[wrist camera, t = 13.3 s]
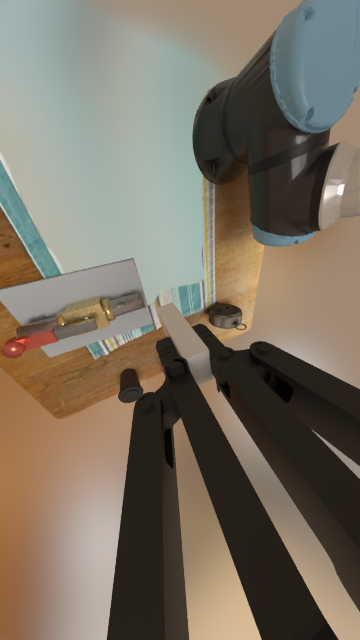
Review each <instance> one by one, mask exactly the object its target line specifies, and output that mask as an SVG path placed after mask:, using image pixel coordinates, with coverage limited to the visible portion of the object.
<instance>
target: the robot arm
mask: <svg viewBox="0 0 360 640" xmlns="http://www.w3.org/2000/svg"><path fill="white" fill-rule="evenodd" d="M359 85H360V0H303V1H302V2H301V3H300V4H299V5H298V6H297V7H296V8H295V9H293V10H292V11H290V12H289V14H288V15H286V16H285V17H284V19H283V20H282V22H281V23H280V24H279V26H278V28H277V29H276V31H275V32H274V33H273V34H272V35H271V36H270V38H269V39H268V40H267V41H266V43H265V44H264V45H263V46H262V47H261V48H260V50H259V51H258V52H257V53H256V54H255V56H254V57H253V58H252V59H251V60H250V61H249V63H248V64H247V65H246V66H245V68H244V69H243V70H242V71H241V72H240V74H239V75H238V76H237V77H234V78H231V79H228V80H225V81H223V82H220V83H218V84H217V85H216V86H214V87H213V88H212V89H211V90H210V91H209V93H208V94H207V95H206V97H205V98H204V99H203V101H202V102H201V104H200V106H199V108H198V110H197V113H196V116H195V120H194V126H193V150H194V155H195V159H196V162H197V164H198V167H199V169H200V171H201V172H202V174H203V175H204V176H205V177H206V178H207V179H208V180H209V181H211V182H212V183H215V184H225V183H228V182H230V181H232V180H234V179H236V178H237V177H238V176H239V175H241V173H242V172H243V171H244V170H245V169H246V168H247V167H248V183H249V197H250V212H251V218H250V222H251V225H252V231H253V237H254V239H255V240H257V242H259V243H261V244H263V245H267V246H290V245H292V244H293V243H294V244H299V243H302V242H304V241H306V240H308V239H310V238H311V237H312V236H313V235H314V234H315V232H316V231H322V230H326V229H327V228H328V227H329V226H331V225H332V224H333V223H334V222H336V221H337V220H339V219H341V218H348V217H355V216H360V148H355V147H353V146H352V145H351V144H349V143H348V142H347V141H343V142H340V143H337V144H335V145H332V146H329V147H328V142H329V135H330V129H331V127H332V126H333V125H334V124H335V123H336V122H337V121H338V120H339V119H340V118H341V117H342V116H343V115H344V113H345V112H346V111H347V109H348V108H349V106H350V105H351V103H352V101H353V94H354V93H355V92H356V91H357V89H358V87H359ZM156 309H157V312H158V315H159V318H160V321H161V324H162V327H163V330H164V333H165V335H166V337H167V338H164V339H162V340H159V341H157V344H156V349H157V351H158V354H159V357H160V360H161V363H162V365H163V368H164V373H165V375H166V379H165V382H164V384H163V385H162V386H161V387H160V388H159V389H158V390H157V391H156V392H155V393H154V392H147V393H145V394H143V395H142V396H140V397H139V398H138V400H137V401H136V403H135V407H134V413H133V421H132V430H131V438H130V447H129V455H128V464H127V472H126V480H125V489H124V498H123V506H122V515H121V523H120V532H119V540H118V549H117V557H116V566H115V575H114V583H113V591H112V600H111V608H110V617H109V626H108V635H107V640H189V632H188V619H187V608H186V607H187V606H186V593H185V580H184V567H183V554H182V542H181V541H182V540H181V528H180V514H179V502H178V489H177V475H176V462H175V449H174V436H173V425H174V424H175V423H176V422H177V421H178V420H179V419H180V418H182V421H183V424H184V427H185V430H186V432H187V435H188V437H189V441H190V443H191V446H192V449H193V452H194V454H195V457H196V460H197V463H198V465H199V468H200V471H201V473H202V476H203V479H204V482H205V485H206V487H207V490H208V493H209V496H210V498H211V501H212V504H213V507H214V509H215V512H216V515H217V518H218V520H219V523H220V526H221V528H222V531H223V534H224V537H225V540H226V543H227V545H228V548H229V551H230V553H231V556H232V559H233V562H234V565H235V567H236V570H237V573H238V576H239V578H240V581H241V584H242V587H243V589H244V592H245V595H246V597H247V600H248V603H249V606H250V608H251V611H252V614H253V617H254V619H255V622H256V625H257V628H258V630H259V633H260V636H261V639H262V640H338V638H337V637H336V635H335V634H334V632H333V630H332V629H331V627H330V626H329V624H328V623H327V621H326V619H325V618H324V616H323V614H322V613H321V611H320V609H319V607H318V606H317V604H316V602H315V600H314V598H313V597H312V595H311V593H310V591H309V589H308V588H307V586H306V584H305V582H304V580H303V578H302V576H301V574H300V573H299V571H298V569H297V567H296V565H295V563H294V562H293V560H292V558H291V556H290V554H289V552H288V551H287V549H286V547H285V545H284V543H283V541H282V539H281V538H280V536H279V534H278V532H277V530H276V529H275V527H274V525H273V523H272V521H271V519H270V517H269V515H268V514H267V512H266V510H265V508H264V506H263V505H262V503H261V501H260V499H259V497H258V495H257V493H256V492H255V490H254V488H253V486H252V484H251V482H250V480H249V479H248V477H247V475H246V473H245V471H244V470H243V468H242V466H241V464H240V462H239V460H238V458H237V456H236V455H235V453H234V451H233V450H232V447H231V445H230V444H229V442H228V440H227V438H226V436H225V434H224V433H223V431H222V429H221V427H220V425H219V423H218V421H217V420H216V418H215V416H214V414H213V413H212V411H211V408H210V407H209V405H208V403H207V401H206V399H205V398H204V396H203V394H202V392H201V390H200V388H199V386H198V385H200V384H202V383H204V382H206V381H209V380H211V379H212V374H213V376H214V377H215V379H216V384H217V390H218V392H220V390H221V392H222V393H223V395H224V396H225V398H226V399H227V401H228V402H229V404H230V405H231V407H232V409H233V410H234V412H235V413H236V415H237V416H238V418H239V419H240V421H241V422H242V424H243V425H244V427H245V428H246V430H247V432H248V433H249V435H250V436H251V438H252V439H253V441H254V442H255V444H256V445H257V447H258V448H259V450H260V451H261V453H262V454H263V456H264V457H265V459H266V460H267V462H268V463H269V465H270V467H271V468H272V470H273V471H274V473H275V474H276V475H277V477H278V479H279V480H280V482H281V483H282V485H283V486H284V488H285V489H286V491H287V492H288V494H289V496H290V497H291V499H292V500H293V501H294V503H295V505H296V506H297V508H298V509H299V511H300V512H301V514H302V515H303V517H304V519H305V520H306V522H307V523H308V525H309V526H310V528H311V529H312V531H313V532H314V534H315V535H316V537H317V538H318V540H319V541H320V543H321V544H322V546H323V547H324V549H325V551H326V552H327V554H328V555H329V557H330V559H331V561H332V562H333V565H334V567H335V570H336V573H337V575H338V576H339V579H340V580H341V582H342V584H343V586H344V587H345V589H346V591H347V592H348V594H349V596H350V597H351V599H352V600H353V602H354V603H355V605H356V607H357V608H358V610H359V611H360V479H359V478H358V477H357V476H356V475H355V474H354V473H353V472H352V471H351V470H350V469H349V468H348V467H347V466H346V465H345V464H344V463H343V462H342V461H341V459H340V458H339V457H338V456H337V455H336V454H335V453H334V452H333V451H332V450H331V449H330V448H329V447H328V446H327V445H326V444H325V443H324V442H323V441H322V440H321V439H320V438H319V437H318V436H317V435H316V434H315V433H314V432H313V431H315V432H316V433H317V434H319V435H320V436H321V437H322V438H324V439H325V440H326V441H328V442H329V443H330V444H332V445H333V446H334V447H336V448H337V449H338V450H339V451H341V452H342V453H343V454H345V455H346V456H347V457H349V458H350V459H352V460H353V461H354V462H355V463H356V464H358V465H359V466H360V389H358V388H356V387H354V386H352V385H350V384H348V383H346V382H344V381H342V380H340V379H338V378H336V377H334V376H332V375H331V374H329V373H327V372H324V371H322V370H321V369H319V368H317V367H314V366H313V365H311V364H309V363H307V362H305V361H303V360H301V359H299V358H297V357H295V356H293V355H291V354H289V353H287V352H285V351H283V350H281V349H279V348H277V347H275V346H274V345H272V344H269V343H267V342H262V341H259V342H254V343H252V344H251V346H250V349H246V350H239V351H235V350H233V349H231V348H228V347H225V346H224V345H223V344H222V343H221V342H220V341H219V340H218V339H217V337H216V336H215V335H214V334H213V333H212V332H211V331H210V330H209V329H208V328H207V327H206V326H205V325H202V324H198V325H195V326H193V327H191V326H190V325H189V323H188V322H187V321H186V320H185V318H184V317H183V316H182V314H181V313H180V312H179V311H178V309H177V308H176V307H175V306H174V304H173V303H170V304H167V305H164V306H161V307H159V308H156ZM310 428H311V429H312V430H313V431H312V430H311V429H310Z"/></svg>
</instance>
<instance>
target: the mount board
mask: <svg viewBox="0 0 360 640" xmlns="http://www.w3.org/2000/svg"><path fill="white" fill-rule="evenodd" d="M132 289H133V290H134V293H139V292H141V294H142V297H143V300H144V303H145V306H146V308H143V309H140V310H137V311H133V312H130V313H127V314H124V315H120V316H117V317H116V320H113V321H110V326H108V327H105V328H102V329H99V330H96V331H92V332H89V333H86V334H83V335H80V336H77V337H76V336H72V337H69V338H65V339H61V340H59V341H58V342H55V343H52V344H48V345H45V346H41V348H42V349H43V351H44V352H45V353H46V354H47V355H48V356H49V357H50V358H51V357H54V356H57V355H60V354H62V353H65V352H68V351H71V350H74V349H77V348H80V347H83V346H86V345H89V344H92V343H95V342H98V341H101V340H104V339H107V338H110V337H113V336H116V335H119V334H122V333H125V332H128V331H131V330H134V329H137V328H140V327H143V326H146V325H149V324H152V323H153V322H152V318H151V315H150V312H149V308H148V305H147V302H146V299H145V295H144V291H143V288H142V285H141V281H140V278H139V275H138V271H137V268H136V264H135V261H134V259H133V258H132V259H127V260H123V261H119V262H114V263H110V264H106V265H101V266H97V267H92V268H88V269H84V270H80V271H75V272H71V273H67V274H62V275H58V276H53V277H49V278H44V279H40V280H36V281H31V282H27V283H23V284H18V285H14V286H10V287H5V288H1V289H0V301H1V302H2V303H3V305H4V306H5V307H6V308H7V309H8V310H9V311H10V313H11V314H12V315H13V316H14V317H15V318H16V319H17V321H18V322H19V323H20V324H21V325H26V324H29V323H31V322H30V321H29V318H31V317H35V316H38V315H42V314H45V316H46V317H47V318H50V317H54V316H56V313H57V312H61V311H64V309H65V308H66V306H67V305H68V304H71V303H75V302H79V301H82V300H86V299H90V298H93V297H97V296H101V298H102V300H104V299H107V298H109V300H114V299H117V298H121V297H124V296H123V293H122V292H125V291H129V290H132Z"/></svg>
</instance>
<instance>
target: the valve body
mask: <svg viewBox="0 0 360 640" xmlns="http://www.w3.org/2000/svg"><path fill="white" fill-rule="evenodd" d="M122 293H123V296H124V297H121V298H117V299H114V300H109V298H107V299H104V300H102V298H101V296H97V297H93V298H90V299H86V300H82V301H79V302H75V303H71V304H68V305H67V306H66V308H65V309H64V311H61V312H57V313H56V316H54V317H50V318H47V317H46V316H45V314H42V315H38V316H35V317H31V318H29V321H30V322H31V323H29V324H26V325H22V326H19V327H18V328H17V330H16V333H17V336H18V337H20V336H24V335H28V334H32V333H36V332H40V331H43V330H47V329H51V328H54V329H55V328H59V327H62V326H66V325H70V324H74V323H78V322H82V321H83V319H84V318H86V317H89V318H91V319H93V318H94V319H95V321H96V323H97V325H98V329H97V330H99V329H102V328H105V327H108V326H110V321H113V320H116V317H117V316H120V315H124V314H127V313H130V312H133V311H137V310H140V309H143V308H146V306H145V303H144V300H143V297H142V294H141V292H139V293H134V290H133V289H132V290H129V291H125V292H122ZM94 331H96V330H94ZM90 332H92V331H90ZM87 333H89V332H87ZM83 334H86V333H83ZM83 334H79V335H76V337H77V336H80V335H83Z"/></svg>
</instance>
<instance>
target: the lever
mask: <svg viewBox="0 0 360 640" xmlns="http://www.w3.org/2000/svg"><path fill="white" fill-rule="evenodd" d="M97 329H98V325H97V323H96V321H95V319H94V318H93V319H91V318H89V317H86V318H84V319H83V321H82V322H78V323H74V324H70V325H66V326H62V327H59V328H55V329H54V328H51V329H47V330H43V331H40V332H36V333H32V334H28V335H24V336H20V337H13V338H11V339H9V340H8V341H7V342H6V343H5V344H4V345H5V346H4V347H3V348H2V349H1V353H2V355H4V356H5V357H8V358H17V357H20V356H21V355H22V353H23V352H24V351H27V350H30V349H34V348H37V347H41V346H45V345H48V344H52V343H55V342H58V341H59V340H61V339H65V338H69V337H72V336H76V335H79V334H83V333H87V332H90V331H94V330H97Z"/></svg>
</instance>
